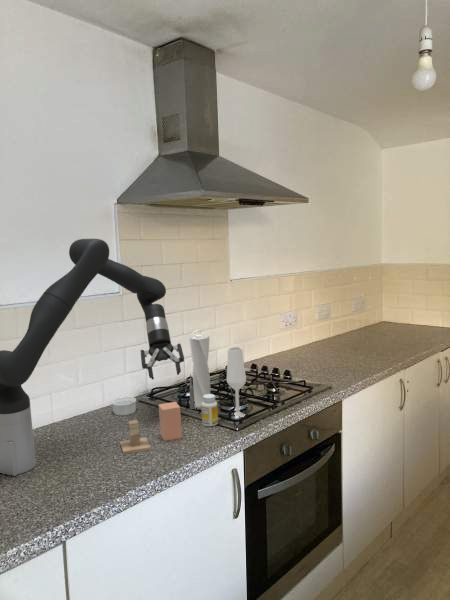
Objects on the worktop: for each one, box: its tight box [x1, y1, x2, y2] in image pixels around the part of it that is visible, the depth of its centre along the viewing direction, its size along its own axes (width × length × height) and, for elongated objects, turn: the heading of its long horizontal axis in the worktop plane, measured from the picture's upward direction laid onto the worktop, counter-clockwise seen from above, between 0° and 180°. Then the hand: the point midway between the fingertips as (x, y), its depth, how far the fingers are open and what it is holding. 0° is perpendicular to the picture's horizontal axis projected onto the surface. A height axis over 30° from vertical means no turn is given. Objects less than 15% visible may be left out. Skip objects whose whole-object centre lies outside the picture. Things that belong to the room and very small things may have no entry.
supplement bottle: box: [200, 393, 219, 427], centre depth 165 cm, size 5×5×10 cm
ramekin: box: [111, 396, 137, 416], centre depth 180 cm, size 9×9×4 cm
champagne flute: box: [226, 346, 247, 417], centre depth 169 cm, size 7×7×24 cm
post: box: [119, 419, 152, 455], centre depth 149 cm, size 8×8×8 cm
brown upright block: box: [158, 401, 183, 442], centre depth 156 cm, size 6×6×10 cm
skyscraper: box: [188, 328, 211, 410], centre depth 182 cm, size 8×8×28 cm
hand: (165, 376), depth 164 cm, fingers open, 8 cm apart
